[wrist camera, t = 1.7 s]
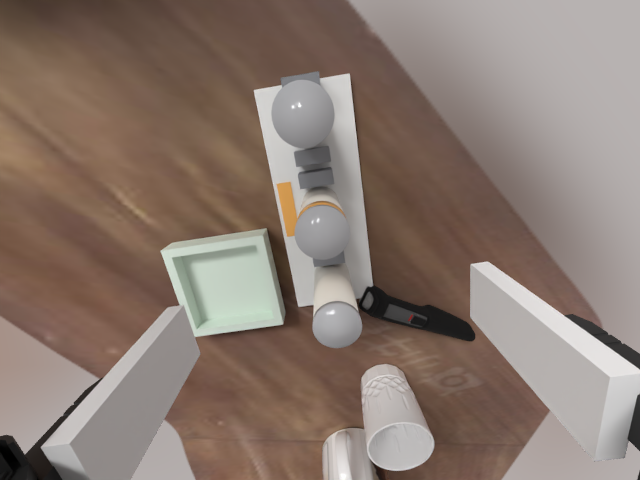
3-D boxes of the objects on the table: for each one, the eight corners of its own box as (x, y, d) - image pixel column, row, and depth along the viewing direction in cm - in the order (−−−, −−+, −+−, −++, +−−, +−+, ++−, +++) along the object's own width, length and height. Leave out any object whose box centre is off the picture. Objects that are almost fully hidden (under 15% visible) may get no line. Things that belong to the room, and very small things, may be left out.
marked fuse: (298, 188, 34) (289, 211, 23) (337, 182, 34) (346, 202, 23) (305, 226, 35) (299, 263, 25) (342, 220, 35) (353, 255, 25)
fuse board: (255, 90, 31) (246, 83, 28) (348, 73, 31) (352, 65, 27) (298, 304, 40) (297, 320, 36) (373, 293, 39) (378, 309, 36)
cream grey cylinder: (283, 103, 31) (265, 85, 21) (325, 96, 31) (329, 74, 20) (291, 148, 33) (278, 152, 22) (331, 141, 32) (338, 142, 22)
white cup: (416, 392, 45) (442, 460, 35) (367, 408, 46) (379, 478, 36) (400, 352, 43) (423, 414, 33) (348, 370, 43) (357, 434, 34)
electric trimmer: (455, 336, 42) (467, 352, 39) (356, 305, 39) (361, 320, 36) (469, 315, 41) (482, 329, 38) (368, 281, 38) (374, 294, 35)
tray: (171, 242, 37) (160, 250, 34) (266, 228, 36) (262, 235, 34) (199, 324, 41) (191, 337, 38) (285, 312, 40) (283, 324, 38)
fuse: (311, 260, 37) (308, 309, 26) (347, 255, 37) (359, 302, 26) (316, 292, 38) (316, 351, 28) (351, 287, 38) (364, 344, 28)
